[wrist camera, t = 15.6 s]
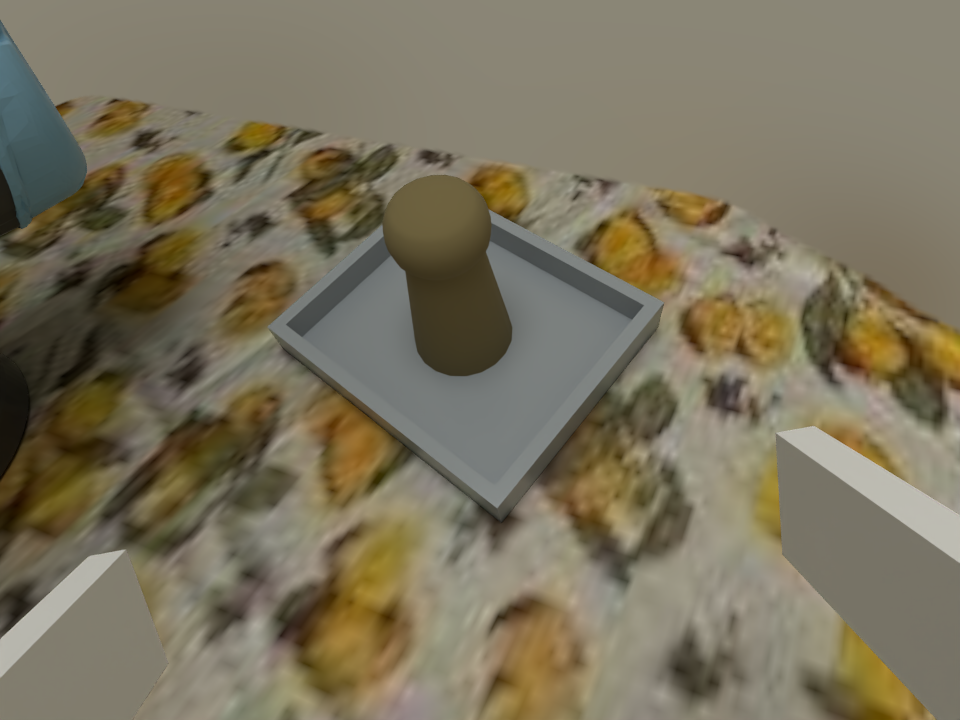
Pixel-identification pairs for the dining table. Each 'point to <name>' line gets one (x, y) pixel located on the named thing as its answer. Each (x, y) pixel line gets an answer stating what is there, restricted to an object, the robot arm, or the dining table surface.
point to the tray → (483, 396)
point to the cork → (448, 274)
